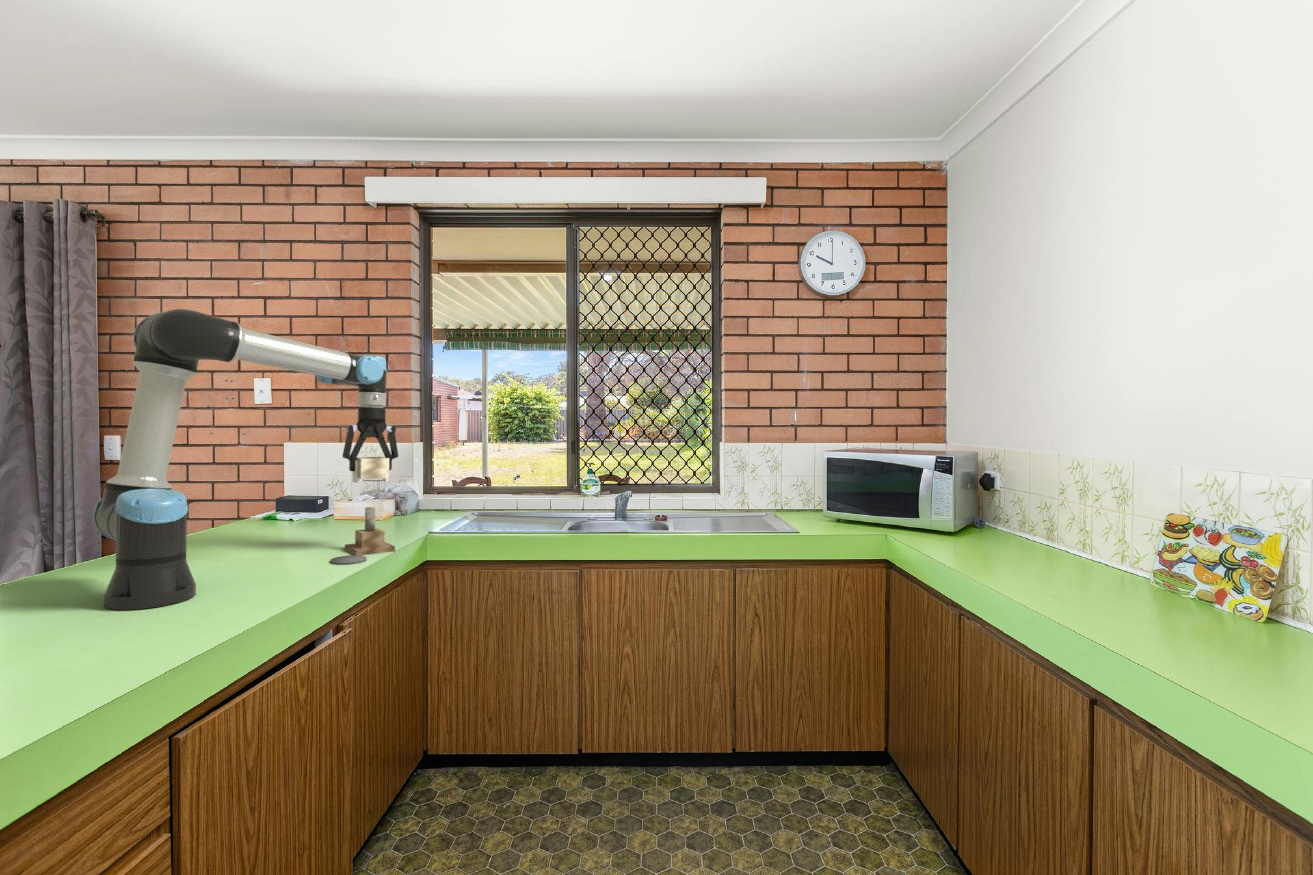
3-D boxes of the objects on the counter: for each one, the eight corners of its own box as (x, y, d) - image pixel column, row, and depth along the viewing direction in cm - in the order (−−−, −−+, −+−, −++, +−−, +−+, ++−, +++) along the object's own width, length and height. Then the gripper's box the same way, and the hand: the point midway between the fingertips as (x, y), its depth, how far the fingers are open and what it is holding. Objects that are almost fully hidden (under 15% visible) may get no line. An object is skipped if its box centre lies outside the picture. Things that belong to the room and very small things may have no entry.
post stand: (355, 555, 174) (356, 511, 174) (344, 549, 182) (345, 507, 182) (394, 551, 181) (395, 508, 181) (382, 545, 189) (382, 504, 189)
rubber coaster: (335, 566, 161) (335, 563, 161) (326, 560, 168) (326, 557, 168) (371, 561, 167) (371, 559, 167) (360, 555, 174) (360, 553, 174)
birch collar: (360, 479, 176) (361, 458, 175) (352, 476, 181) (352, 457, 181) (388, 478, 181) (389, 458, 181) (379, 475, 187) (380, 456, 187)
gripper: (338, 405, 171) (336, 484, 171) (411, 408, 185) (409, 481, 186) (330, 405, 176) (329, 482, 177) (402, 408, 191) (401, 479, 191)
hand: (370, 481), depth 181 cm, fingers closed on birch collar, 8 cm apart
